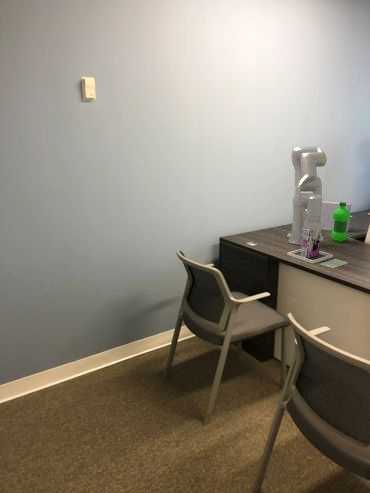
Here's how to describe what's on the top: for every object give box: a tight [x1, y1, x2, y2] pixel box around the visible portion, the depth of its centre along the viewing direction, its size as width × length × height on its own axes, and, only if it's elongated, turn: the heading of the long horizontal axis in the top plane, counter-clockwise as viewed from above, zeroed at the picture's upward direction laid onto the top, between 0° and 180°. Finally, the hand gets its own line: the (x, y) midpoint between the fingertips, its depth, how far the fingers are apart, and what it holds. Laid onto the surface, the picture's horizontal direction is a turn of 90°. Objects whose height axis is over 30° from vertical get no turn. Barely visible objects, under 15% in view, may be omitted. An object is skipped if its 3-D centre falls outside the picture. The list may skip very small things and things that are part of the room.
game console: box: [320, 200, 352, 233], centre depth 273 cm, size 6×27×20 cm, turn 58°
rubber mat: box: [319, 258, 349, 270], centre depth 206 cm, size 8×14×1 cm, turn 125°
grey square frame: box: [286, 248, 334, 264], centre depth 219 cm, size 18×18×2 cm
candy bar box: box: [299, 229, 321, 259], centre depth 217 cm, size 11×5×16 cm, turn 126°
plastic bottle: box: [331, 201, 351, 243], centre depth 245 cm, size 10×10×25 cm
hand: (310, 248), depth 218 cm, fingers open, 5 cm apart
